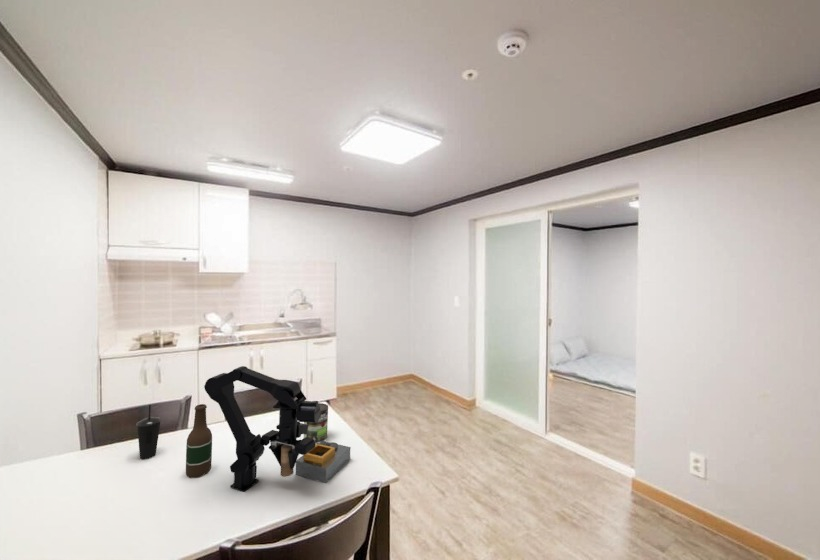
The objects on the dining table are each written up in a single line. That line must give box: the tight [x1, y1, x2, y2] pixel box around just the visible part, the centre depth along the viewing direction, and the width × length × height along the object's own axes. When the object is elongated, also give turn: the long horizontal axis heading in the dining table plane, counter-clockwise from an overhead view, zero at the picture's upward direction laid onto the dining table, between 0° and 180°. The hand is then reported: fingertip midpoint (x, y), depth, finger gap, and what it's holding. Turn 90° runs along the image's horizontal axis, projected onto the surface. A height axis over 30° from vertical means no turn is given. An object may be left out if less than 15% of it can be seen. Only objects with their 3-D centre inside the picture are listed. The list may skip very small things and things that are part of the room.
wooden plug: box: [280, 444, 294, 478], centre depth 109 cm, size 4×4×9 cm
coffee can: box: [303, 402, 329, 445], centre depth 143 cm, size 10×10×14 cm
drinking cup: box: [135, 404, 162, 460], centre depth 126 cm, size 8×8×20 cm
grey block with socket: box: [294, 441, 351, 484], centre depth 121 cm, size 16×13×8 cm
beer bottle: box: [185, 403, 213, 479], centre depth 116 cm, size 8×8×24 cm
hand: (287, 467), depth 109 cm, fingers closed on wooden plug, 4 cm apart
